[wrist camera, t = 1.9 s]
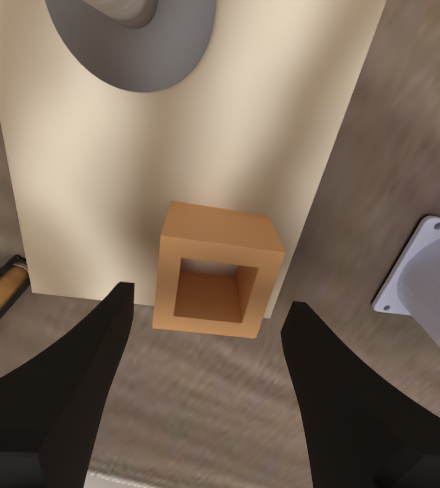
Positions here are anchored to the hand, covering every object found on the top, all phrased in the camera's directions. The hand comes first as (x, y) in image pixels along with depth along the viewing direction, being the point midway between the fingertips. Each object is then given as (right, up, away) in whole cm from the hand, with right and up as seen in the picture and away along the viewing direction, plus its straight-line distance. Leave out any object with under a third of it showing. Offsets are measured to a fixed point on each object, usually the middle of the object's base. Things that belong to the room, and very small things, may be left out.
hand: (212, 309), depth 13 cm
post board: (-2, +9, +2) cm, 9 cm away
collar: (0, +3, +4) cm, 5 cm away
